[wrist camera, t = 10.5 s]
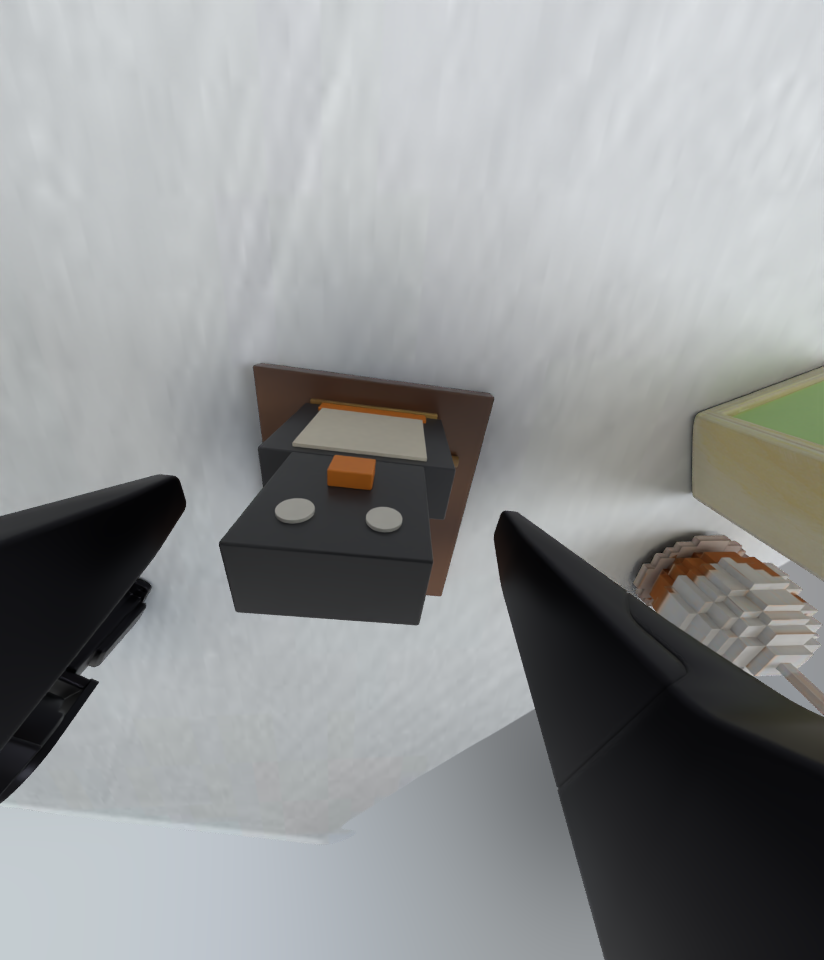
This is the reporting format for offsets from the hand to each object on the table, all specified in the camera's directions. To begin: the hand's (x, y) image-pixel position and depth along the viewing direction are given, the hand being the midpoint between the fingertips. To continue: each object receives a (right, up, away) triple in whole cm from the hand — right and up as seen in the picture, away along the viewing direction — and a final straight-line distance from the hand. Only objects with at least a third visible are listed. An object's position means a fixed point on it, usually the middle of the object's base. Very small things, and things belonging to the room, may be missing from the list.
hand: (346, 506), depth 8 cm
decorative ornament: (+24, -6, +16) cm, 30 cm away
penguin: (0, 0, +4) cm, 5 cm away
